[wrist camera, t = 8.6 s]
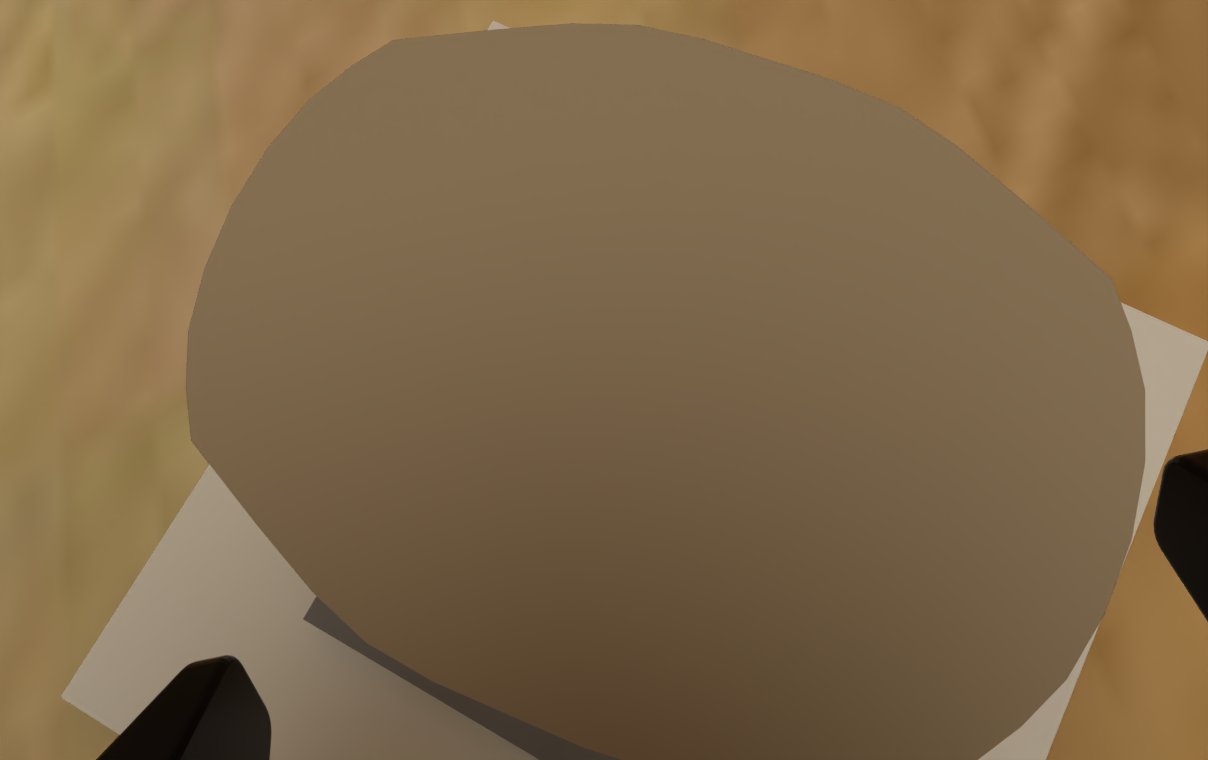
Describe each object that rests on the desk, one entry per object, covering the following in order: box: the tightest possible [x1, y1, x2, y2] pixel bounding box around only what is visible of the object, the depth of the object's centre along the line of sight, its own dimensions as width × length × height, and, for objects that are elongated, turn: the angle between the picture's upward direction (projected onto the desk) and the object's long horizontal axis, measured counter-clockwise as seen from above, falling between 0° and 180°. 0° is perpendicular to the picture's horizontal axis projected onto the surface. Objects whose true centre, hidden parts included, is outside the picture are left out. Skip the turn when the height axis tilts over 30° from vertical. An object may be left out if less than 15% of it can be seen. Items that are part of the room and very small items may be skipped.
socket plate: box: [61, 21, 1208, 760], centre depth 20 cm, size 20×20×1 cm
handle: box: [186, 23, 1145, 760], centre depth 13 cm, size 5×6×15 cm
